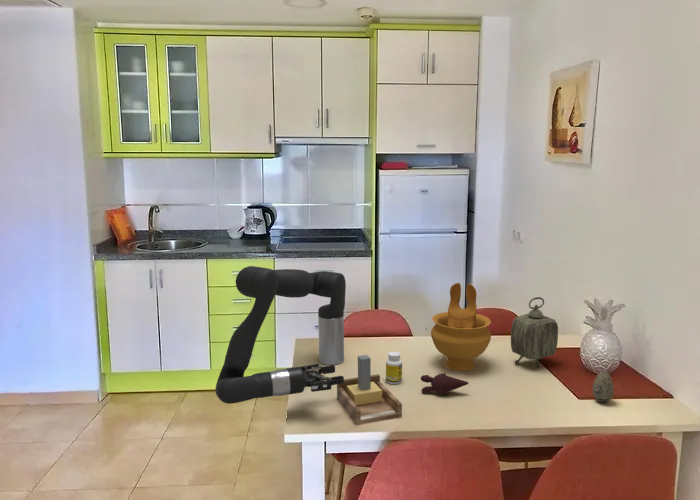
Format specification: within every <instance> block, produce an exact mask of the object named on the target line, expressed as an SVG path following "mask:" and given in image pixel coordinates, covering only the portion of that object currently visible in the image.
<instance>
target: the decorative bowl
mask: <svg viewBox="0 0 700 500" xmlns="http://www.w3.org/2000/svg"><path fill="white" fill-rule="evenodd" d="M461 286H462V285H461V283H459V282H456V283H454V284H452V285H451V286H450V288H449V295H450V301H449V304H448V308H447V311H446V312H440V313H436V314H435V315H433V316H432V319H431V320H432V321H433V323H434V326H432V328H431V330H430V336H431V337H430V338H431V339H432V342H433V344H434V346H435V349H437V351H438V352H439V353H440V354H442V355H443V356H445V357H446V358H447V359H446V361H445V362H444V366H445V367H446V368H447V369H449V370H452V371H458V372H461V371H462V372H465V371H471V370H473V369H474V368H475V367H476V365H475V364H474V359H475V358H478V357H480V356H481V355H482V354H483V353H485V351H486V349H488V346H489V344H490V342H491V340H492V333H491V330H490V329H489V328H488V327H489V326H490V325H491V323H492V320H491V319H490V318H489V317H488V316H485V315H483V314H479V313H478V312H477V311H478V309H477V290H476V288H475V287H474V285H472V284H471V283H467V285H466V289H465V290H466V291H465V296H466V297H465V298H466V301H467V306H466V308H462V307H461V306H460V301H461V297H462V296H461V294H462V287H461Z"/></svg>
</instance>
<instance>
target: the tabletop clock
mask: <svg viewBox="0 0 700 500" xmlns="http://www.w3.org/2000/svg"><path fill="white" fill-rule="evenodd" d="M536 300H541V301H542V304H541V305H539V306H538V304H535V305H534V306H533V307H532V306H531V304H532V302H533V301H536ZM544 304H545V300H544V298H542V297H541V296H537V297H533V298H532V299H530V301H529V302H528V307H529V308H530V309H531V310H530V311H528V313H526V314H522V315H518V316H515V318H513V320H512V324H511V329H510V331H511V332H510V348H511V351H512V353H514V354H515V355H518V356H520V357H519V358H518V359H516V360H514V364H515V365H517V366H519V364H520V361H521V360H522V359H523V358H525V359H528V360H535V361H536V363H535V367H536V368H539V367H540V366H541V363H540V362H539V360H540V361H541V360H542V359H543V358H547V357H550V356H553V355H554V354H556V352H557V347H558V340H559V338H558V337H559V326H558V322H557V321H556V319H554V318H551V317H548V316H546V315H544V314H543V312H542V310H540V308H542V307H543V306H544Z"/></svg>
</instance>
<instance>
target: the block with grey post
mask: <svg viewBox="0 0 700 500" xmlns="http://www.w3.org/2000/svg"><path fill="white" fill-rule="evenodd" d="M371 360H372V359H371V357H370V356H369V355H368V354H364V355H357V377H358V384H355V385H348V386H347V395H348V396H349V397H350V398H351V399H352V401H353V402H354V403H355V404H356V406H357V405H363V404H369V403H375V402H381V401H382V390H381V389H380V388H379V387H378V386H377V385H376V384H375V383H374V382H371V374H372V373H371V370H372V369H371V363H372V362H371Z"/></svg>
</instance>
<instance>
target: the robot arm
mask: <svg viewBox="0 0 700 500" xmlns="http://www.w3.org/2000/svg"><path fill="white" fill-rule="evenodd" d="M346 283H347V282H346V278H345V275H344V274H343V273H341V272H333V271H325V270H324V271H322V270H321V271H313V272H308V271H306V270H304V269H296V268H295V269H293V268H290V269H289V268H288V269H287V268H286V269H285V268H283V269H282V268H281V269H271V268H269V267H268V268H267V267H263V266H261V267H260V266H254V265H248V266H246V267H243V268H242V269H241V270H240V271H239V272H238V273H237V275H236V278H235V287H236V289H237V292H239V294H240V295H241V294H242V295H243V296H245V297H247V298H248V297H249V298H253V299H255V300H254V303H253V306H252V308H251V310H250V312H249V313H248V314H247V316H246V317H245V318H244V320H243V321H242V322H241V323H240V324H239V325H238V326H237V328H236V329H235V331H234V332H233V333H232V335H231V337H230V340H229V342H228V346H227V349H226V354H225V358H224V361H223V365H222V367H221V369H220V373H219V376H218V377H217V381H216V385H215V390H214V391H215V395H216V397H217V398H218V399H219V400H220V401H221V402H222V403H224V404H227V405H228V404H230V405H231V404H239V403H241V402H242V403H243V402H247V401H250V400H254V399H263V398H269V397H282V396H288V395H294V394H296V395H297V394H300V393H301V394H302V393H304V391H305V389H306V388H310V391H311V392H322V391H323V392H324V391H330V390H332V386H335V385H336V386H337V384H343V383H344V379H345V377H344V376H343V375H337V376H331V377H330V376H325V375H328V374H333V373H335V372H336V367H335V365H339V364H342V363H344V361H345V331H344V330H345V329H344V328H345V320H344V317H345V316H344V312H345V311H344V310H345V307H346V290H347V289H346V288H347V286H346V285H347V284H346ZM308 295H314V296H318V297H324V298H330V300H329V301H330V302H329V304H325V305H321V306H319V307H318V310H317V311H318V313H317V314H318V317H317V319H318V320H317V321H318V362H319V363H321V364H323V365H325V366H323V365H319V363H314V364H307V365H302V366H293V367H288V368H287V367H286V368H279V369H274V370H271V371H264V372H257V373H253V374H251V375H245V372H246V370H247V369H248V368H249V365H250V362H251V361H250V360H251V358H252V354H253V351H254V348H255V344H256V341H257V337H258V335H259V332H260V330H261V327H262V325H263V323H264V321H265V319H266V316H267V315H268V312H269V310H270V308H271V305H272V303H273V300H274V298H275V296H277V297H284V298H298V299H300V298H305V297H306V296H308Z"/></svg>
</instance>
